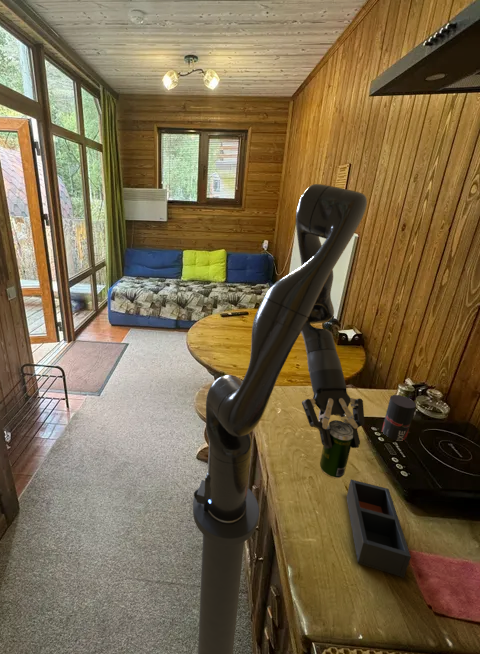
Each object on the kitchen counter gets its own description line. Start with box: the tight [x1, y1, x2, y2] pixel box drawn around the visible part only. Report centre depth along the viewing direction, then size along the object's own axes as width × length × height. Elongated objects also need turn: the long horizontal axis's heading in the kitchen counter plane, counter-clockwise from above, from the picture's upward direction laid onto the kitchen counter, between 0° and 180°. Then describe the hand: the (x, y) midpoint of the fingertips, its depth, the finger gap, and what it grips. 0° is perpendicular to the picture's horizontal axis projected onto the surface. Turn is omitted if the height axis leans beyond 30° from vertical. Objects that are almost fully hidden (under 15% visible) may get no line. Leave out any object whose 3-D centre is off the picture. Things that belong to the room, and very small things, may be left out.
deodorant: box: [381, 394, 417, 441], centre depth 87 cm, size 6×6×15 cm
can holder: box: [345, 479, 412, 578], centre depth 64 cm, size 8×15×6 cm, turn 162°
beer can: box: [319, 419, 353, 480], centre depth 70 cm, size 5×5×12 cm
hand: (342, 447), depth 67 cm, fingers closed on beer can, 5 cm apart
